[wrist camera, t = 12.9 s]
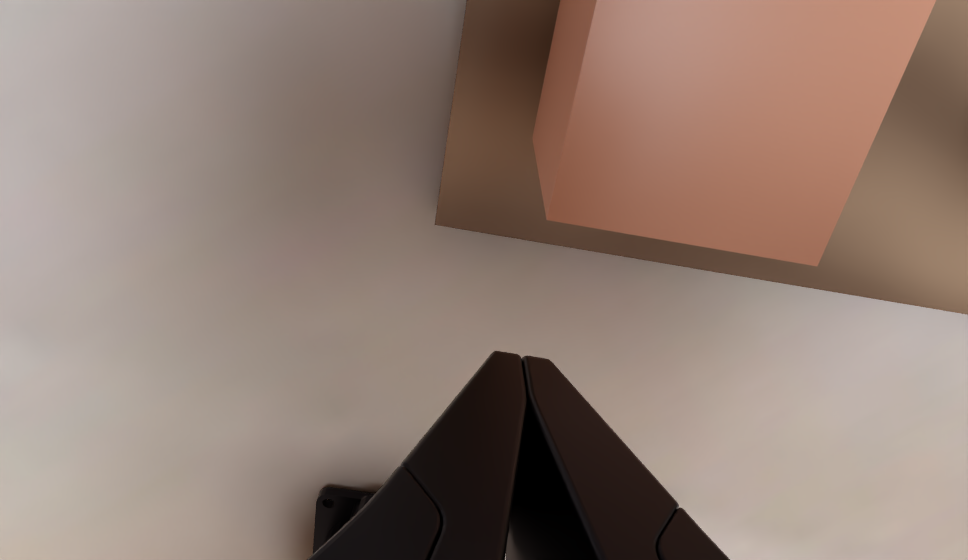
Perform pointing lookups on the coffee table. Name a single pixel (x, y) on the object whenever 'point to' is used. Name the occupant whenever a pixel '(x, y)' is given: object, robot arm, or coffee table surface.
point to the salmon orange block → (717, 116)
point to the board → (842, 268)
